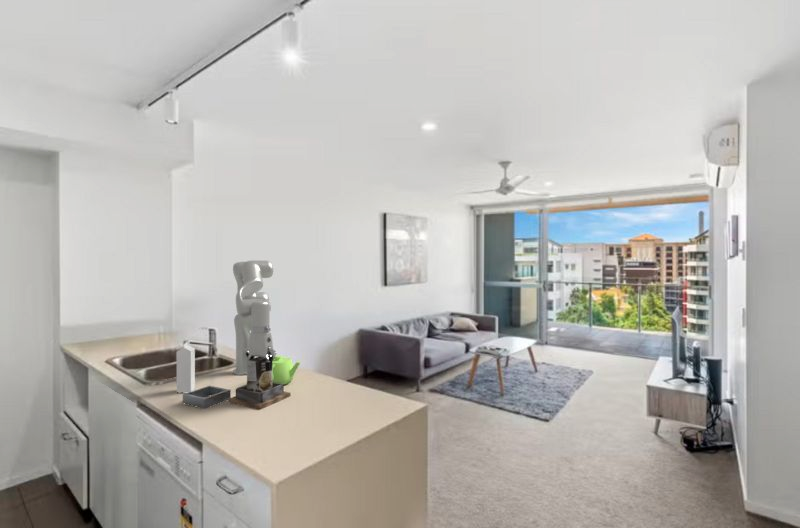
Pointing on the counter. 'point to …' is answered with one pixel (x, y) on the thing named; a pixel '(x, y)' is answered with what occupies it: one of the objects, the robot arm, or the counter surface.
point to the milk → (186, 369)
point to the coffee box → (258, 375)
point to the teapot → (283, 370)
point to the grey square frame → (198, 400)
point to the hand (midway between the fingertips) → (260, 369)
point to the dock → (259, 396)
